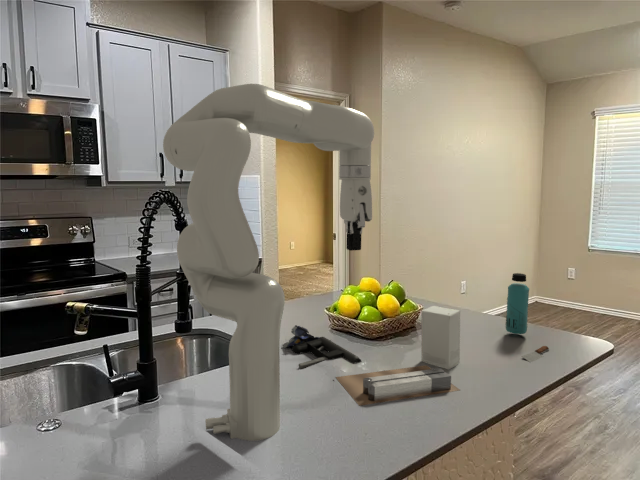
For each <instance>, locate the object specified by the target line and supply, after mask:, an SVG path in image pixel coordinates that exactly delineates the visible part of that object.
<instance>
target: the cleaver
mask: <svg viewBox="0 0 640 480" xmlns="http://www.w3.org/2000/svg"><path fill="white" fill-rule="evenodd" d="M549 350H550V348H549V347H548V346H547V345H542V346H541V347H540V348H537V349H535V350H534V351H532V352H530V353H527V354H524V355H521V358H523V359H524V360H526V361H527V362H529V363H533V362H536V361H538V360H540V359H542V358H543V357H544V355H542V354H545V352H548V351H549Z"/></svg>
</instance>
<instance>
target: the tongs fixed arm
mask: <svg viewBox="0 0 640 480" xmlns="http://www.w3.org/2000/svg"><path fill="white" fill-rule="evenodd" d="M451 383H452V375H451V374H449V373H448V372H446V371H445V373H438V374H431V375H426V376H418V377H411V378H404V379H397V380H390V381H382V382H375V383H369V384H368V400H370V401H377V400H384V399H391V398H397V397H404V396H410V395H417V394H423V393H430V392H437V391H444V390H451Z"/></svg>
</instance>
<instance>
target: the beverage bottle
mask: <svg viewBox="0 0 640 480" xmlns="http://www.w3.org/2000/svg"><path fill="white" fill-rule="evenodd" d="M511 277H512V278H511V281H513V282H514V283H511V284H509V285H508V286H507V298H506V300H507V301H506V316H505V326H504V327H505V330H506V332H508V333H511V334H515V335H524V334H526V333H527V332H528V318H529V314H528V313H529V296H530V295H529V294H530V288H529V286H527V285H526V284H525V283H523V282H527V275H526V274H525V273H521V272H520V273H519V272H517V273H512V276H511ZM516 282H517V283H516ZM518 282H520V283H518Z"/></svg>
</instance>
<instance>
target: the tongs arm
mask: <svg viewBox="0 0 640 480" xmlns="http://www.w3.org/2000/svg"><path fill="white" fill-rule="evenodd" d="M445 372H446V371H445V370H443V368H442V367H438V368H437V367H436V368H431V369H429V370H421V371H416V372H408V373H400V374H392V375H385V376H377V377H369V378H364V379H363V393H364V394H368V384H369V383H375V382H382V381H390V380H397V379H404V378H411V377H418V376H426V375H431V374H438V373H445Z"/></svg>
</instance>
